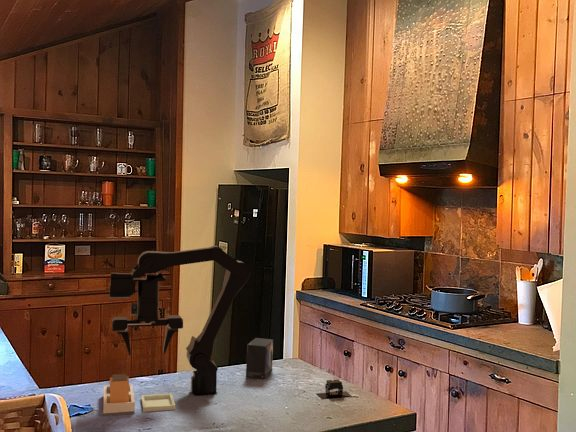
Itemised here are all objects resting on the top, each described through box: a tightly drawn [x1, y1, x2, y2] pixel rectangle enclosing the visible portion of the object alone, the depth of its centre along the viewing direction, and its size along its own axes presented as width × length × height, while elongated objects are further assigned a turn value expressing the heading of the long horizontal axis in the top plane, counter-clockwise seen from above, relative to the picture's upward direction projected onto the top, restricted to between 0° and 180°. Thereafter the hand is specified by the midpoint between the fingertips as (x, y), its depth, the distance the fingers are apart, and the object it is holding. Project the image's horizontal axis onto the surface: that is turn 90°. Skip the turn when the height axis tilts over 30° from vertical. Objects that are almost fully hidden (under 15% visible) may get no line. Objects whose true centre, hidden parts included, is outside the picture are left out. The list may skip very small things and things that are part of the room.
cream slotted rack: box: [102, 383, 136, 417], centre depth 159 cm, size 8×16×6 cm, turn 17°
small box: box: [245, 337, 274, 380], centre depth 193 cm, size 11×6×10 cm, turn 168°
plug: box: [109, 373, 130, 403], centre depth 155 cm, size 4×4×8 cm
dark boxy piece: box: [315, 379, 354, 400], centre depth 173 cm, size 12×7×5 cm, turn 107°
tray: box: [140, 393, 177, 413], centre depth 160 cm, size 8×10×2 cm
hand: (147, 354), depth 167 cm, fingers open, 9 cm apart
